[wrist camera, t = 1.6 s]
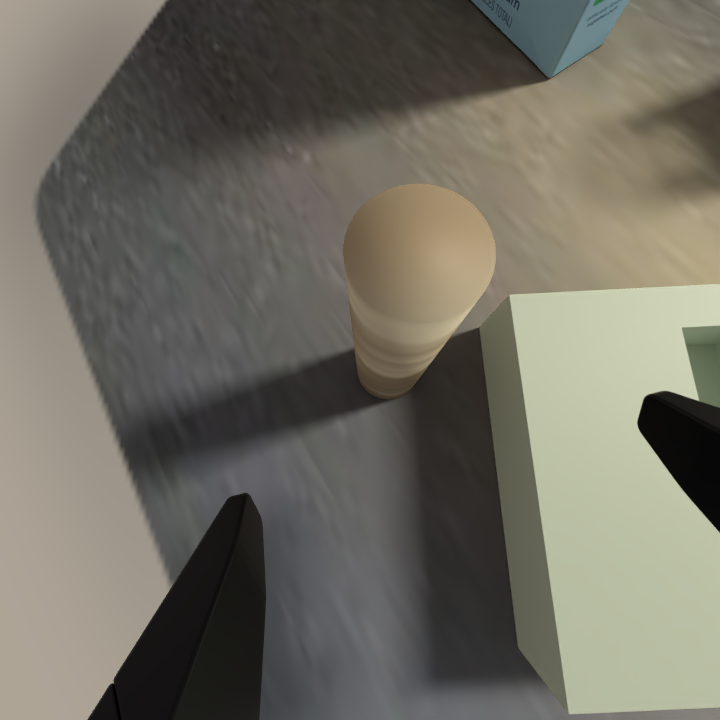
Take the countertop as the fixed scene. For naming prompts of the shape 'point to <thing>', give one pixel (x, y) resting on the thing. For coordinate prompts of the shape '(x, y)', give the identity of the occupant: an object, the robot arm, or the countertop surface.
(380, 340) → the pin
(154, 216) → the countertop surface
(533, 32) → the gum box
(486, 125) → the countertop surface
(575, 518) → the plinth
